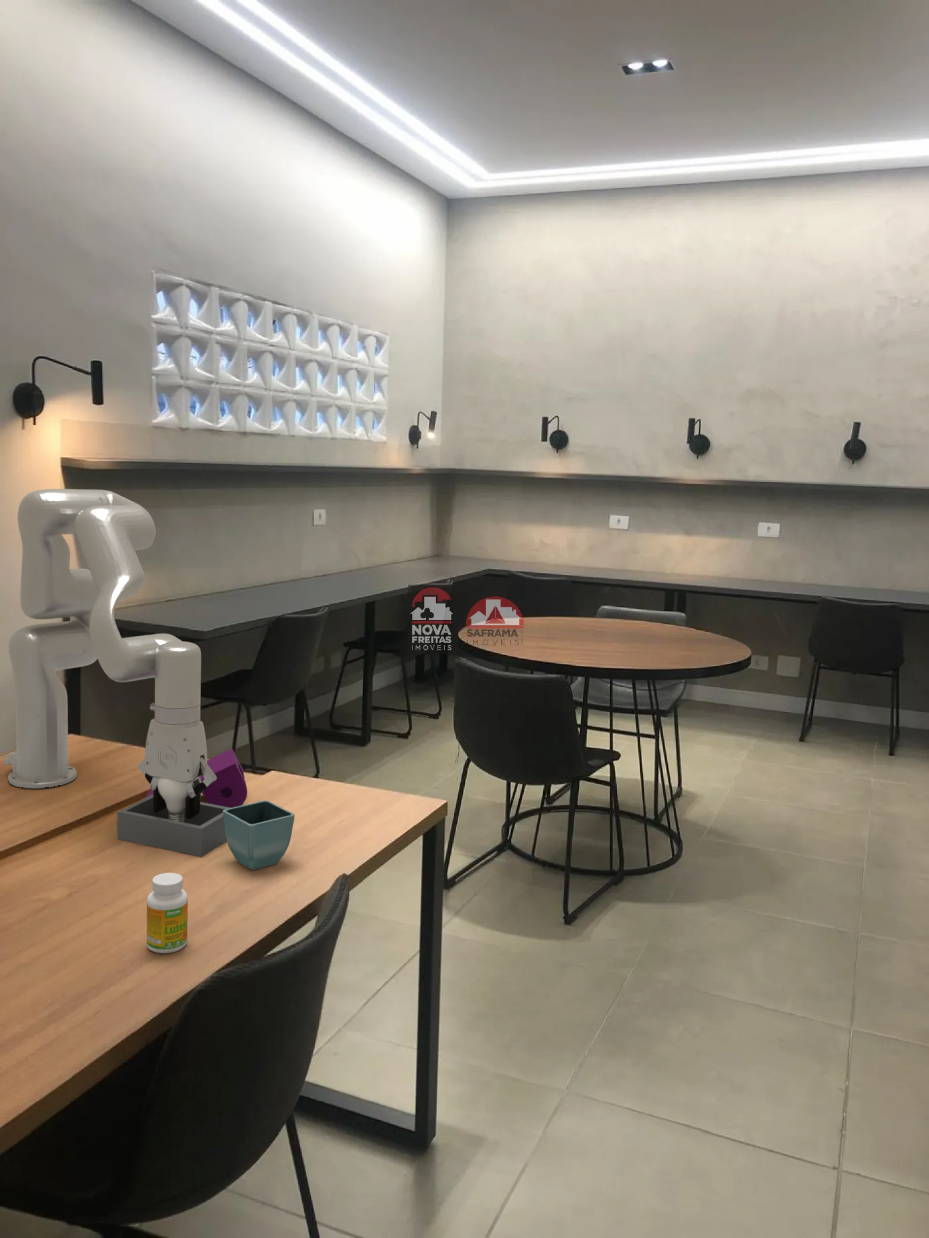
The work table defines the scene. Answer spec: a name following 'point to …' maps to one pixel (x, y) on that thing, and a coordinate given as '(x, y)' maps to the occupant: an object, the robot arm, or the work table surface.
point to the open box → (172, 828)
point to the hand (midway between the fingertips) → (176, 812)
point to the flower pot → (258, 833)
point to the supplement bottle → (167, 914)
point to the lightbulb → (174, 797)
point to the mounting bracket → (225, 781)
